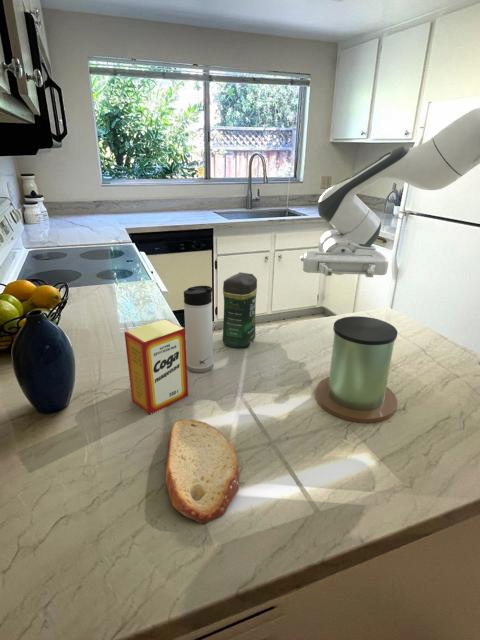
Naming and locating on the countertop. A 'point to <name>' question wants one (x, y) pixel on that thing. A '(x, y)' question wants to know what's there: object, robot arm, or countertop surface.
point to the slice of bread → (200, 470)
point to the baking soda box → (157, 364)
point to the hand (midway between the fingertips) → (349, 273)
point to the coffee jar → (239, 309)
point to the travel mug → (198, 328)
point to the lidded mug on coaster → (359, 371)
